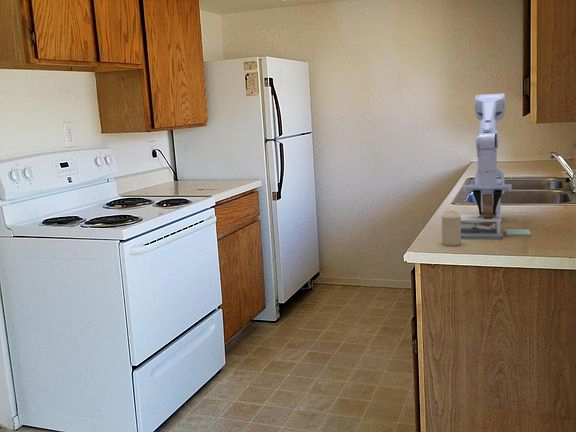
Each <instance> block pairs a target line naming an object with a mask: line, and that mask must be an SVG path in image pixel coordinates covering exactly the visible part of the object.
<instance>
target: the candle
mask: <svg viewBox="0 0 576 432" xmlns="http://www.w3.org/2000/svg"><path fill="white" fill-rule="evenodd" d="M460 215H461V214H459V213H458V211H454V210H450V211H445V212H444V213H443V215H442V216H441V244H442V245H443V246H447V247H448V246H451V247H452V246H459V245H461V244H462V239H461V216H460Z"/></svg>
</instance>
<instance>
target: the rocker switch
mask: <svg viewBox="0 0 576 432" xmlns="http://www.w3.org/2000/svg"><path fill="white" fill-rule="evenodd" d="M461 226H464V227H473V228H481V229H490V227H491V225H484V222H461Z"/></svg>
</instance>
